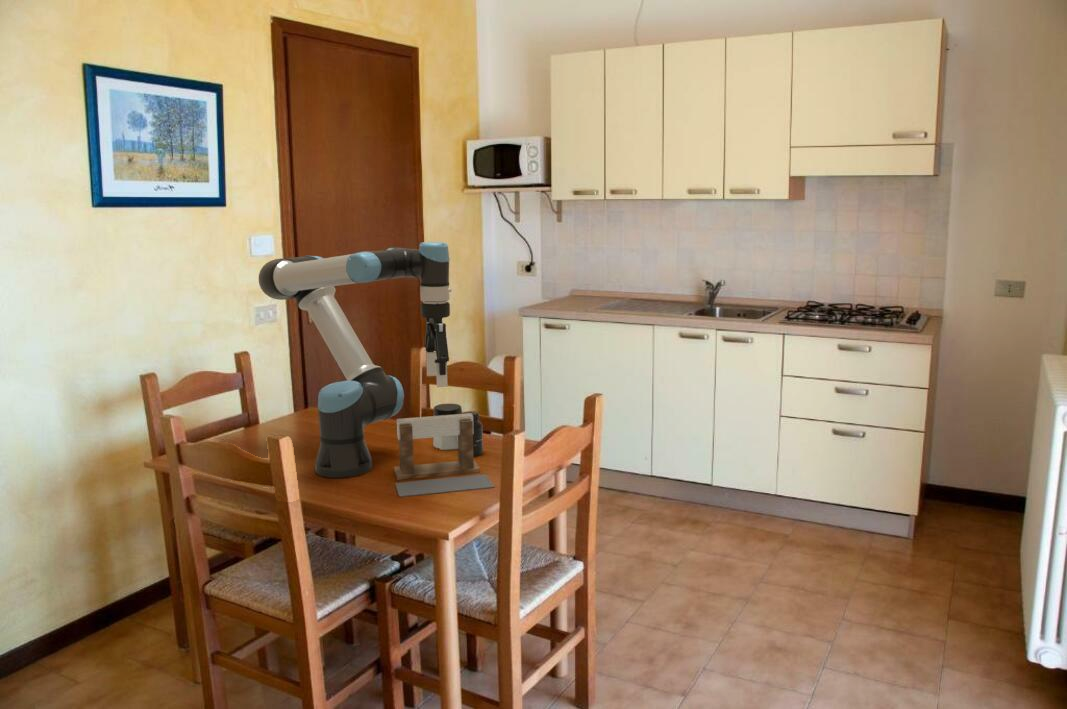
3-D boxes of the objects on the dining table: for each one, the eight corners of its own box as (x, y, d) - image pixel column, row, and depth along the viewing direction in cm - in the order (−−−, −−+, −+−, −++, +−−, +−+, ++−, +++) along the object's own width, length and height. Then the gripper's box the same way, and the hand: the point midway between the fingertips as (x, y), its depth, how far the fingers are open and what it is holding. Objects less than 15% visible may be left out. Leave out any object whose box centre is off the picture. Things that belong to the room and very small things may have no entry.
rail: (398, 440, 222) (398, 421, 221) (397, 437, 225) (396, 418, 224) (473, 434, 227) (473, 416, 226) (471, 431, 230) (470, 413, 229)
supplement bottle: (483, 456, 240) (482, 415, 238) (458, 457, 240) (457, 416, 237) (483, 449, 247) (482, 409, 244) (459, 450, 246) (458, 410, 244)
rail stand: (397, 479, 221) (395, 428, 219) (394, 470, 229) (392, 420, 226) (479, 472, 227) (478, 421, 224) (473, 463, 234) (472, 414, 232)
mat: (399, 497, 209) (399, 496, 209) (394, 484, 218) (394, 483, 218) (494, 487, 215) (494, 486, 215) (485, 475, 224) (485, 474, 224)
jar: (468, 446, 250) (467, 407, 247) (445, 452, 245) (444, 412, 242) (451, 440, 256) (450, 401, 254) (428, 445, 251) (427, 406, 249)
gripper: (460, 307, 210) (461, 390, 214) (439, 295, 233) (441, 370, 237) (430, 308, 208) (431, 392, 212) (412, 296, 231) (414, 372, 235)
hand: (436, 381), depth 225 cm, fingers open, 13 cm apart
